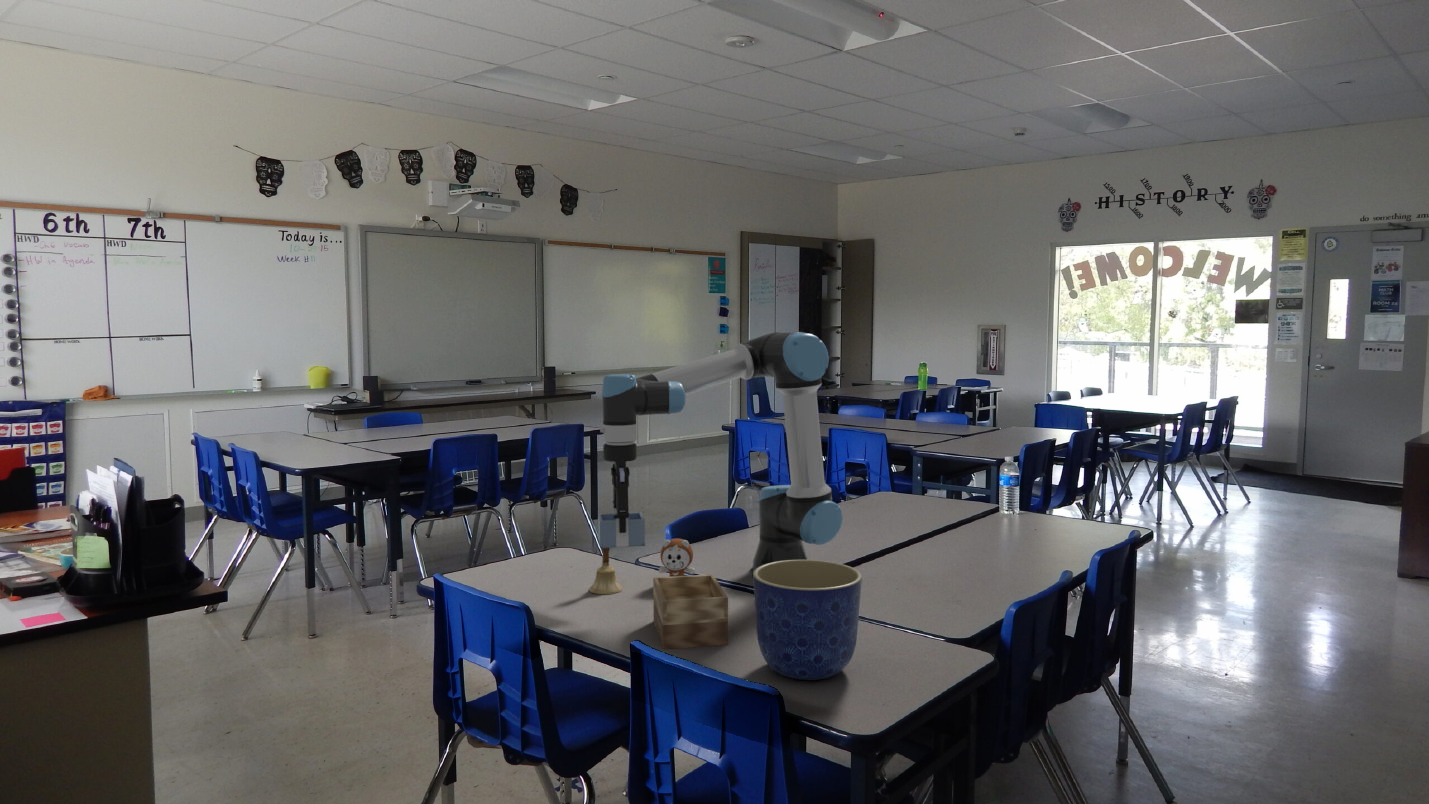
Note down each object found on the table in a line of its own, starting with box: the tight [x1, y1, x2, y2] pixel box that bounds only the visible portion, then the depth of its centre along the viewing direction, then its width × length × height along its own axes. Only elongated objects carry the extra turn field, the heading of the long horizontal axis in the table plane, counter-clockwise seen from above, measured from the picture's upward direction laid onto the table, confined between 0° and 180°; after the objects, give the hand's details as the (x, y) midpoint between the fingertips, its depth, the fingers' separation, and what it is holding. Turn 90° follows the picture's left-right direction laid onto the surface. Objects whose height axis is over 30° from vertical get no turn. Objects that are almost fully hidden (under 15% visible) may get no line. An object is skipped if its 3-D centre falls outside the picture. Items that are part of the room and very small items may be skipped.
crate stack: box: [652, 574, 729, 650], centre depth 192 cm, size 14×18×10 cm
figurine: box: [658, 537, 696, 577], centre depth 227 cm, size 9×9×12 cm
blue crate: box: [597, 511, 646, 549], centre depth 203 cm, size 10×8×6 cm
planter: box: [752, 559, 863, 681], centre depth 171 cm, size 21×21×19 cm
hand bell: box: [588, 548, 623, 595], centre depth 223 cm, size 8×8×16 cm
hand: (621, 541), depth 203 cm, fingers closed on blue crate, 8 cm apart
